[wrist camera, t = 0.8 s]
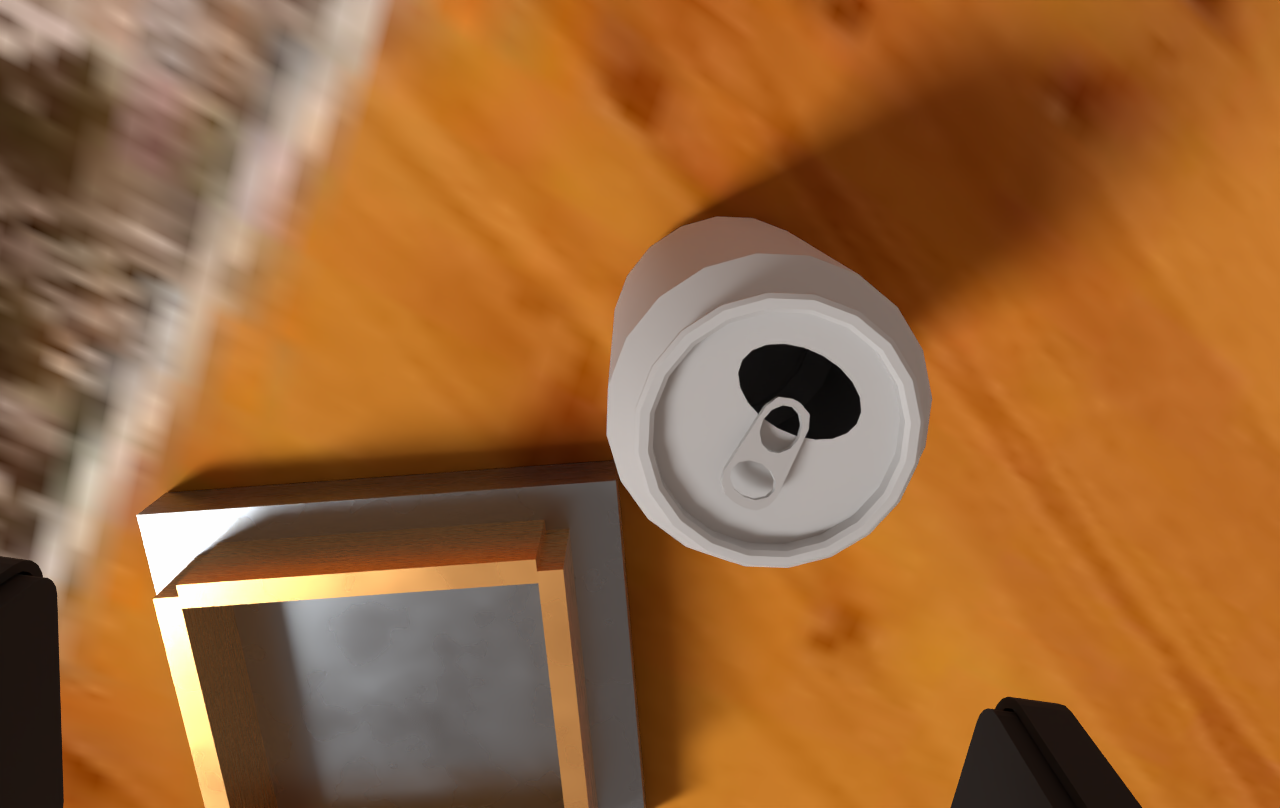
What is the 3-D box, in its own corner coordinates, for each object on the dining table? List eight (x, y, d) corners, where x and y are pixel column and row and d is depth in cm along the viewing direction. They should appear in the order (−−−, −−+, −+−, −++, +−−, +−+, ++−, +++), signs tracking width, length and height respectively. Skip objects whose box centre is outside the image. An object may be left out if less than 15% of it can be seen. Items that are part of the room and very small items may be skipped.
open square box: (616, 459, 32) (614, 516, 27) (646, 812, 36) (649, 915, 31) (166, 492, 32) (85, 555, 27) (248, 840, 36) (191, 947, 32)
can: (877, 284, 30) (1029, 375, 19) (760, 468, 32) (833, 653, 21) (684, 170, 29) (719, 192, 18) (573, 367, 31) (541, 503, 20)
